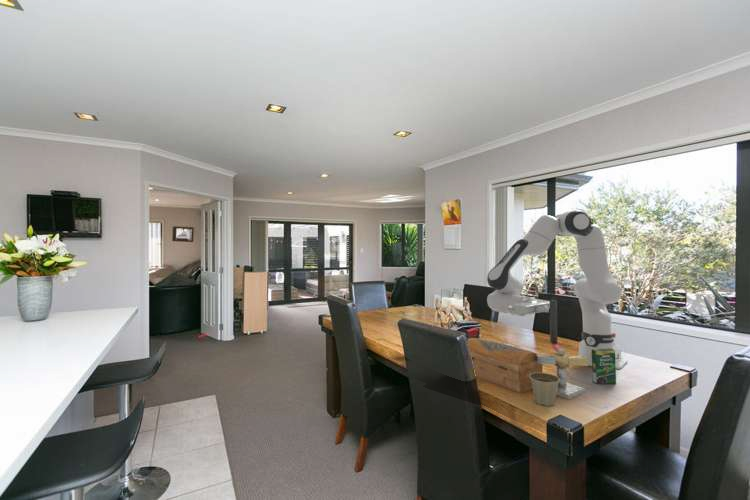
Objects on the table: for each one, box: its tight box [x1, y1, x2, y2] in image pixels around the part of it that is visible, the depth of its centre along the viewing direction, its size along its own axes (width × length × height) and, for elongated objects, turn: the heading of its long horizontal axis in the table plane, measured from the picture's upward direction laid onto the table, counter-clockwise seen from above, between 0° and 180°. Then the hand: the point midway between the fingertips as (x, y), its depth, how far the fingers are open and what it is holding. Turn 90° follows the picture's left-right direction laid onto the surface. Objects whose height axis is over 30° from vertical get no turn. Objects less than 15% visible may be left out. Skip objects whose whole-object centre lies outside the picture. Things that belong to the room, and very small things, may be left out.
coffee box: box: [591, 348, 617, 385], centre depth 137 cm, size 8×3×13 cm, turn 91°
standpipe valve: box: [536, 352, 589, 400], centre depth 130 cm, size 14×14×13 cm
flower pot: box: [529, 372, 560, 407], centre depth 120 cm, size 9×9×9 cm
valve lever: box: [549, 299, 566, 355], centre depth 136 cm, size 14×3×18 cm, turn 166°
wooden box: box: [467, 337, 543, 394], centre depth 144 cm, size 30×16×14 cm, turn 33°
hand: (550, 309), depth 142 cm, fingers closed, pressing on valve lever
